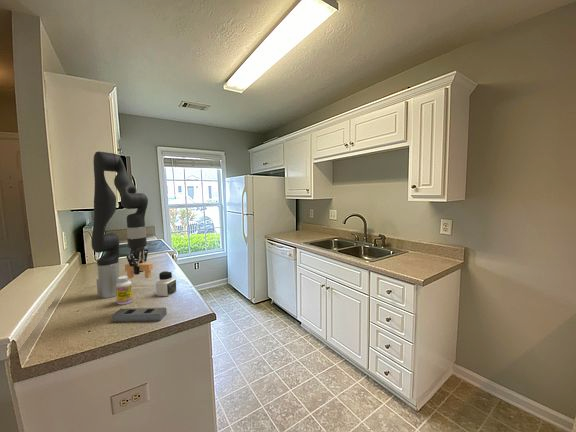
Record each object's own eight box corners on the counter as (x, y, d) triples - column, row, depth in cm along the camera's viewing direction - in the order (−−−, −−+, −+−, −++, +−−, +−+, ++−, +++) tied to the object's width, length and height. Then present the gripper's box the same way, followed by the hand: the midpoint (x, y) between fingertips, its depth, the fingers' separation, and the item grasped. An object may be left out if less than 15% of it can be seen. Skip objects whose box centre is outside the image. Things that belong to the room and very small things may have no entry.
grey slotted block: (112, 322, 104) (111, 315, 104) (121, 315, 110) (120, 308, 110) (160, 320, 105) (159, 314, 104) (166, 314, 111) (166, 307, 110)
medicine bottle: (168, 296, 130) (166, 274, 129) (156, 295, 132) (154, 273, 131) (176, 291, 137) (175, 270, 136) (165, 290, 139) (164, 269, 138)
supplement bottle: (116, 306, 120) (114, 280, 118) (118, 301, 125) (116, 276, 124) (132, 303, 123) (130, 277, 122) (133, 298, 128) (131, 274, 127)
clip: (125, 278, 114) (124, 264, 114) (129, 276, 117) (128, 263, 117) (149, 278, 115) (148, 264, 114) (153, 276, 118) (152, 262, 117)
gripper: (137, 234, 121) (139, 268, 123) (118, 239, 107) (121, 278, 109) (153, 234, 121) (154, 268, 123) (136, 239, 107) (138, 278, 109)
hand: (139, 273), depth 116 cm, fingers closed on clip, 3 cm apart
